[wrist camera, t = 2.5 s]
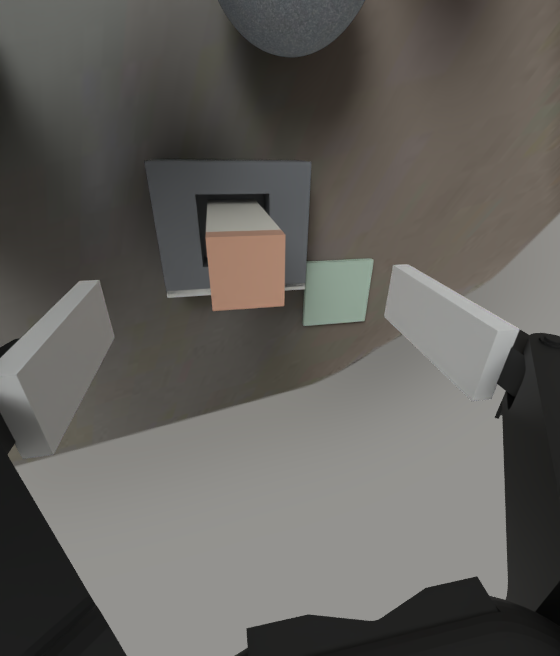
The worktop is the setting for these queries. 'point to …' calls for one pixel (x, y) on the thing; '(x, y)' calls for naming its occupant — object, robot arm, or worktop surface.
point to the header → (224, 184)
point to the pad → (336, 291)
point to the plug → (244, 256)
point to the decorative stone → (291, 23)
